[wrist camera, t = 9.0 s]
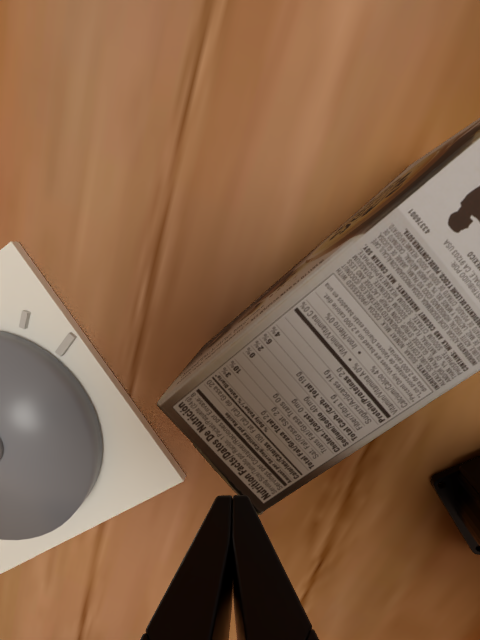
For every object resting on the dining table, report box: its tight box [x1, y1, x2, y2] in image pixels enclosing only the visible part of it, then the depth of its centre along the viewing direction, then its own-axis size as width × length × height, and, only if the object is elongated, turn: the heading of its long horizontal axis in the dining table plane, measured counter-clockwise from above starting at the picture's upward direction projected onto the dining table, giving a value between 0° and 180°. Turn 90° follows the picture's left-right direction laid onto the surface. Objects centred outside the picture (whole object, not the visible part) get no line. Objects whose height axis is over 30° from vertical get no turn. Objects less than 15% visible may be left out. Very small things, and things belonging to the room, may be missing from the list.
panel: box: [0, 241, 186, 574], centre depth 23 cm, size 20×20×1 cm
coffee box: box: [157, 118, 480, 515], centre depth 14 cm, size 9×6×16 cm
